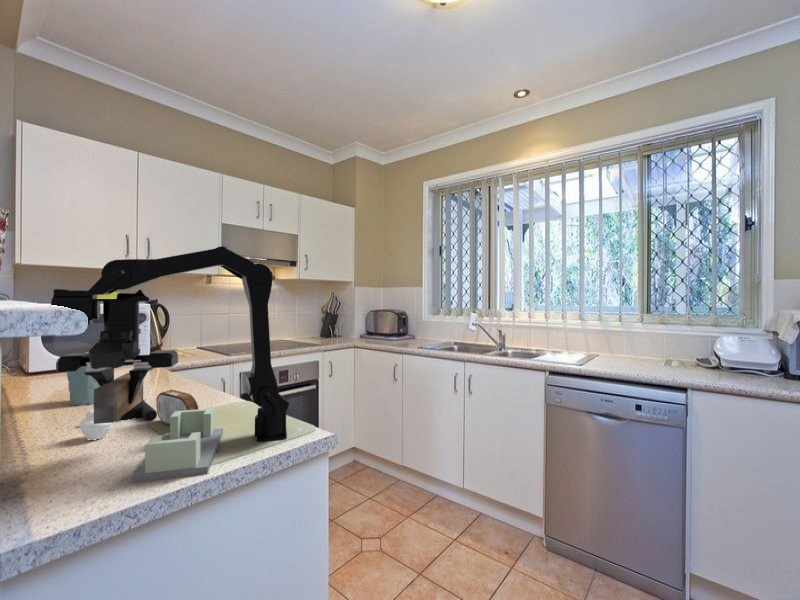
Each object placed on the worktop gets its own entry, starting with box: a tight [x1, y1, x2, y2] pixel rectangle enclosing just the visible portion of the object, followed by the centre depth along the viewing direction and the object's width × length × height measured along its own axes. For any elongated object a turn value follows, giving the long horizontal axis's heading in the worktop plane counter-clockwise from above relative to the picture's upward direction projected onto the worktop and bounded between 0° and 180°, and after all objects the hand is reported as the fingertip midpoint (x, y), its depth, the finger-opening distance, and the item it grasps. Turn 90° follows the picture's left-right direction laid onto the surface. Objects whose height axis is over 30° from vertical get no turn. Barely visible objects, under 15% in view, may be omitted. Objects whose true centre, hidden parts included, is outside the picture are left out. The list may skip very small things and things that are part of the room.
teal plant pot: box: [66, 366, 100, 406], centre depth 118 cm, size 10×10×12 cm
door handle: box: [80, 399, 158, 423], centre depth 104 cm, size 3×20×16 cm
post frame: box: [130, 407, 224, 483], centre depth 79 cm, size 12×22×6 cm, turn 18°
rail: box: [93, 372, 144, 424], centre depth 76 cm, size 3×16×6 cm, turn 18°
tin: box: [155, 389, 199, 426], centre depth 97 cm, size 15×3×8 cm, turn 59°
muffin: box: [78, 408, 114, 441], centre depth 88 cm, size 6×6×7 cm
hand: (121, 404), depth 76 cm, fingers closed on rail, 3 cm apart
